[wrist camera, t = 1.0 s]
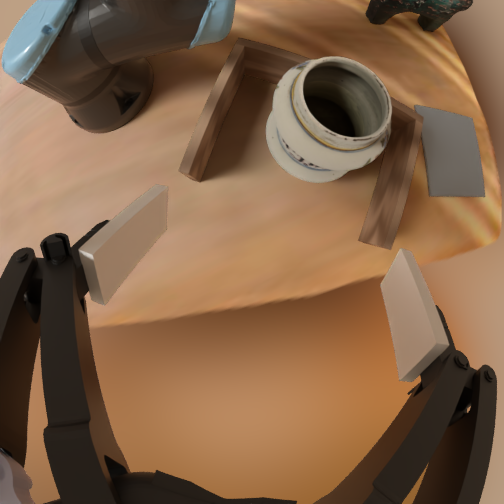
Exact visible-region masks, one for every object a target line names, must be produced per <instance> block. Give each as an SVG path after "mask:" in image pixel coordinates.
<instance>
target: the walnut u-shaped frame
mask: <svg viewBox="0 0 504 504" xmlns="http://www.w3.org/2000/svg"><path fill="white" fill-rule="evenodd" d="M309 60H311V59H309V58H306V57H303V56H301V55H298V54H295V53H292V52H289V51H286V50H283V49H279V48H276V47H273V46H269V45H266V44H262V43H259V42H255V41H251V40H247V39H243V38H238V40H237V42H236V44H235V45H234V47H233V49H232V51H231V53H230V55H229V57H228V59H227V61H226V63H225V64H224V66H223V68H222V70H221V72H220V74H219V77H218V79H217V81H216V83H215V85H214V87H213V89H212V91H211V93H210V96H209V98H208V100H207V102H206V104H205V107H204V109H203V111H202V113H201V116H200V118H199V120H198V123H197V125H196V127H195V130H194V132H193V135H192V137H191V140H190V142H189V145H188V147H187V150H186V152H185V155H184V157H183V160H182V163H181V165H180V168H179V172H181V173H182V174H184V175H185V176H187V177H188V178H190V179H192V180H194V181H197V182H200V181H201V178H202V176H203V173H204V170H205V168H206V165H207V162H208V160H209V157H210V154H211V152H212V149H213V147H214V144H215V142H216V139H217V137H218V134H219V132H220V129H221V127H222V124H223V122H224V119H225V117H226V115H227V112H228V110H229V108H230V105H231V103H232V101H233V98H234V96H235V94H236V92H237V89H238V87H239V85H240V83H241V81H242V78H243V76H244V74H245V75H249V76H252V77H256V78H259V79H262V80H266V81H269V82H272V83H275V84H278V82H279V81H280V79H281V78H282V77H283V75H284V74H285V73H286V72H287V71H289V70H290V69H291V68H293V67H294V66H296V65H298V64H300V63H302V62H305V61H309ZM390 99H391V105H392V114H391V133H390V137H389V140H388V143H387V145H386V149H385V153H384V157H383V161H382V165H381V169H380V172H379V176H378V180H377V183H376V187H375V190H374V193H373V197H372V200H371V203H370V206H369V210H368V213H367V216H366V219H365V222H364V225H363V228H362V231H361V234H360V237H359V240H358V241H361V242H363V243H366V244H370V245H374V246H377V247H381V248H385V249H389V250H391V248H392V245H393V242H394V239H395V236H396V233H397V230H398V227H399V224H400V221H401V217H402V214H403V210H404V207H405V203H406V200H407V196H408V192H409V188H410V184H411V180H412V176H413V172H414V167H415V163H416V158H417V153H418V148H419V143H420V138H421V132H422V126H423V119H424V117H423V116H421V115H420V114H418V113H417V112H415V111H413V110H412V109H410V108H409V107H407V106H405V105H404V104H402V103H400V102H399V101H397V100H395V99H394V98H392V97H390Z"/></svg>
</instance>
